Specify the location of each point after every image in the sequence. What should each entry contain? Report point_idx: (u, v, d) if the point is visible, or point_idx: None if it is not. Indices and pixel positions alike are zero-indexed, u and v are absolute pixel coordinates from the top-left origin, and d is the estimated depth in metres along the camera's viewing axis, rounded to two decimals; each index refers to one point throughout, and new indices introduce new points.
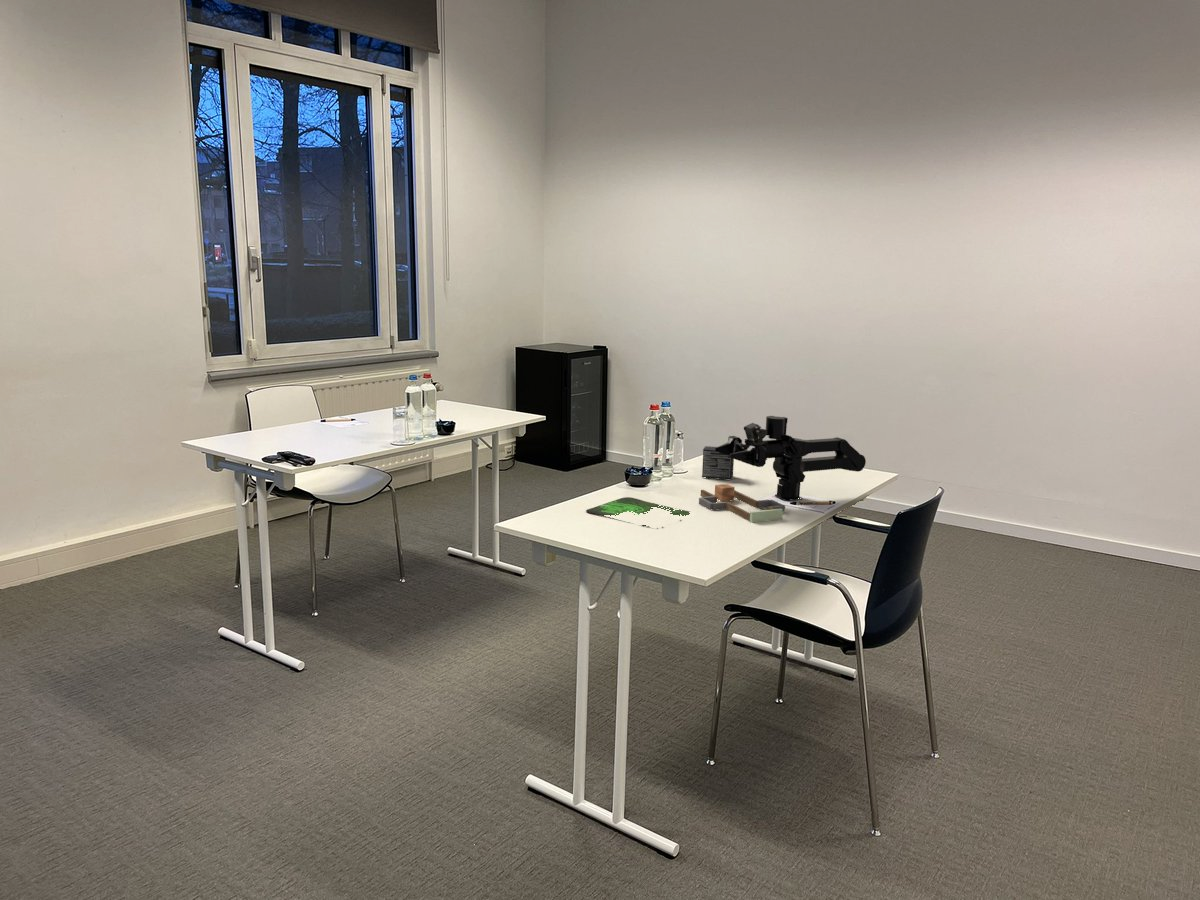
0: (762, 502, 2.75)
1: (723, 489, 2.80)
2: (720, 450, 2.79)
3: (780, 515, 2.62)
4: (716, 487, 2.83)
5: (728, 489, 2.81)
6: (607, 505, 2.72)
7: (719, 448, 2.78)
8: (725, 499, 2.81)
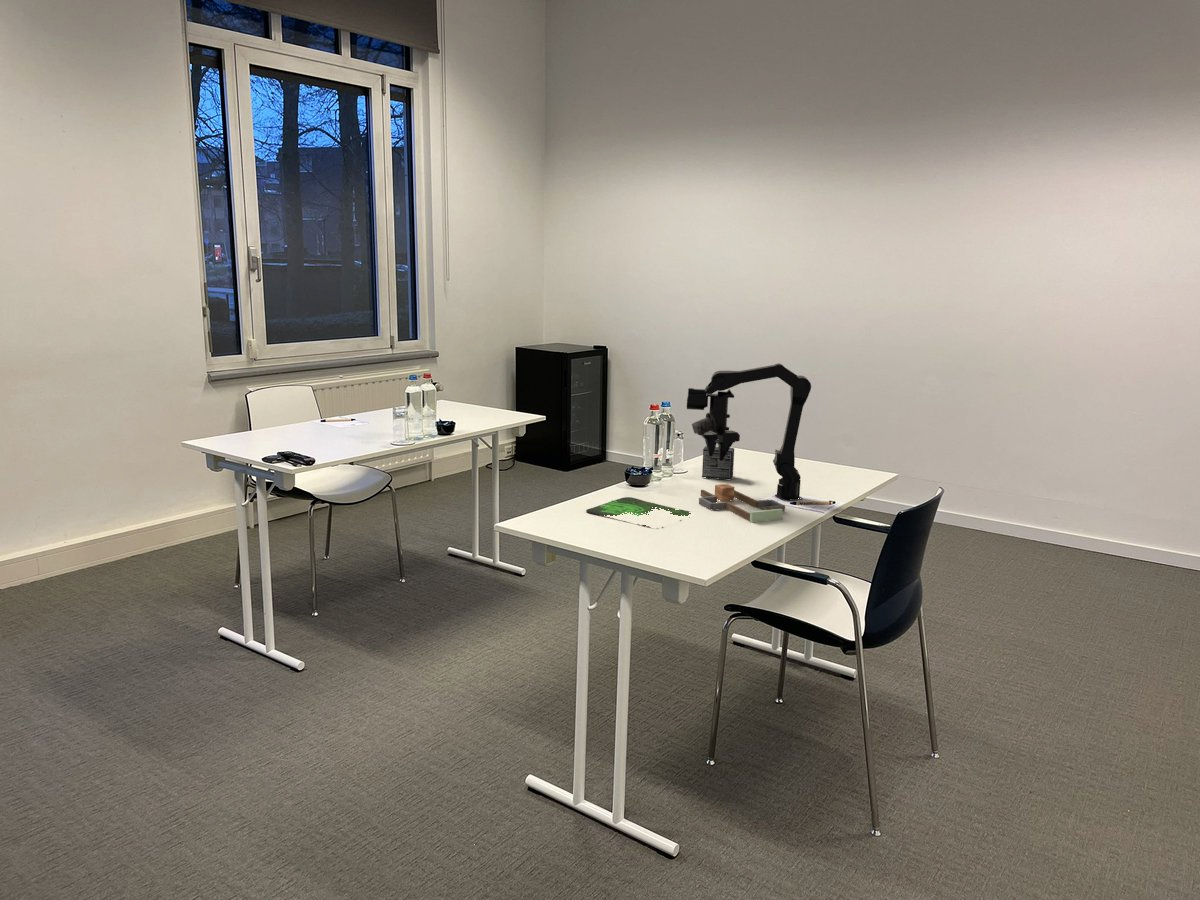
0: (762, 502, 2.75)
1: (723, 489, 2.80)
2: (712, 450, 2.89)
3: (780, 515, 2.62)
4: (716, 487, 2.83)
5: (728, 489, 2.81)
6: (607, 505, 2.72)
7: (710, 452, 2.89)
8: (725, 499, 2.81)
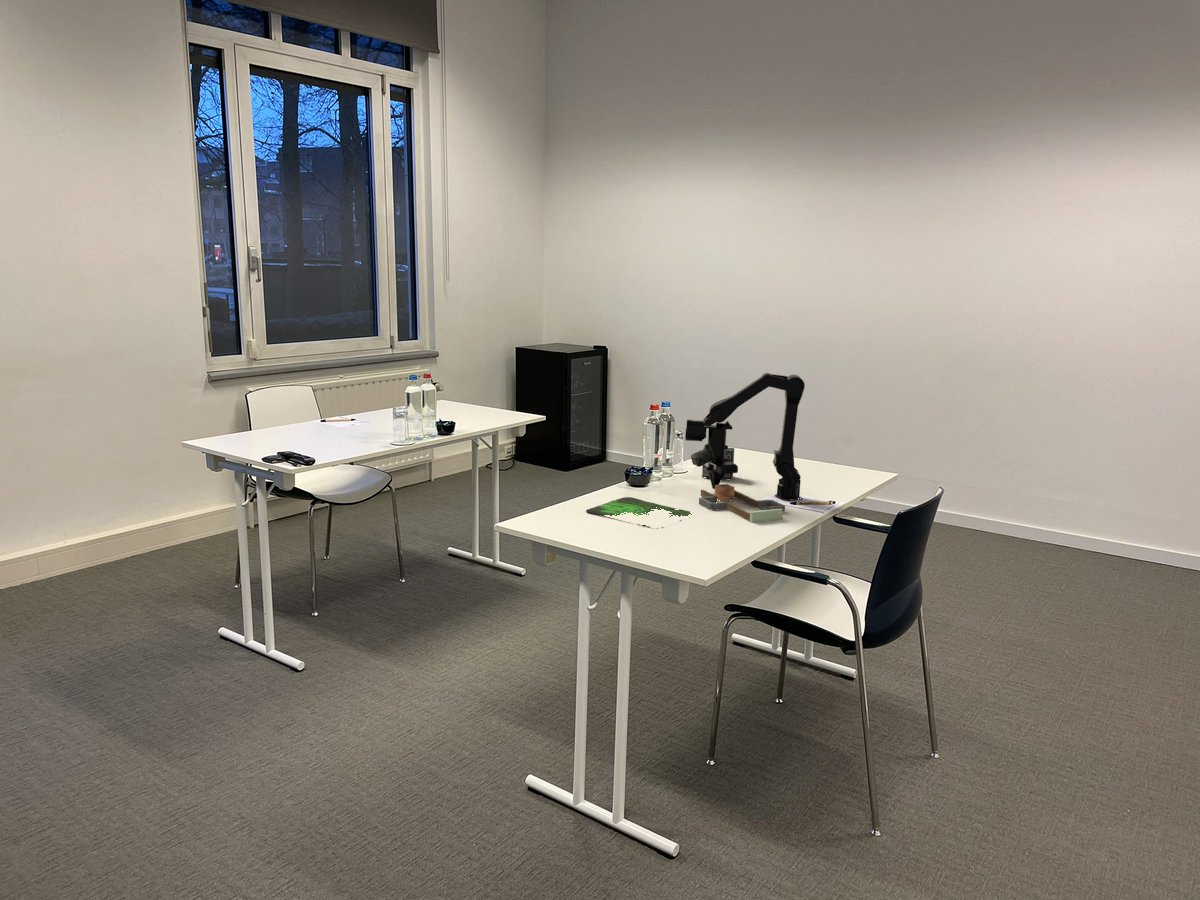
0: (762, 502, 2.75)
1: (723, 489, 2.80)
2: None
3: (780, 515, 2.62)
4: (716, 487, 2.83)
5: (728, 489, 2.81)
6: (607, 505, 2.72)
7: None
8: (725, 499, 2.81)
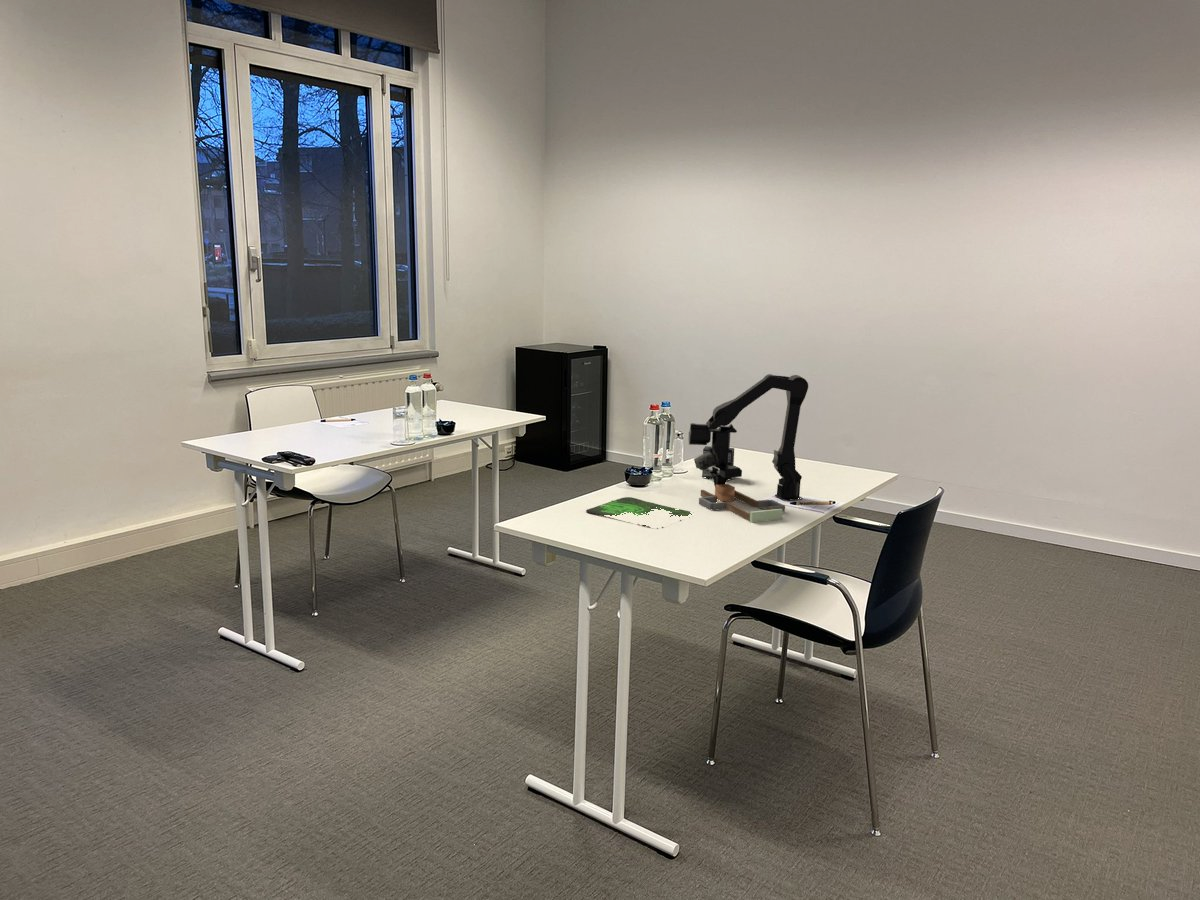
0: (762, 502, 2.75)
1: (723, 489, 2.80)
2: None
3: (780, 515, 2.62)
4: (716, 487, 2.83)
5: (728, 489, 2.80)
6: (607, 505, 2.72)
7: None
8: (725, 499, 2.81)
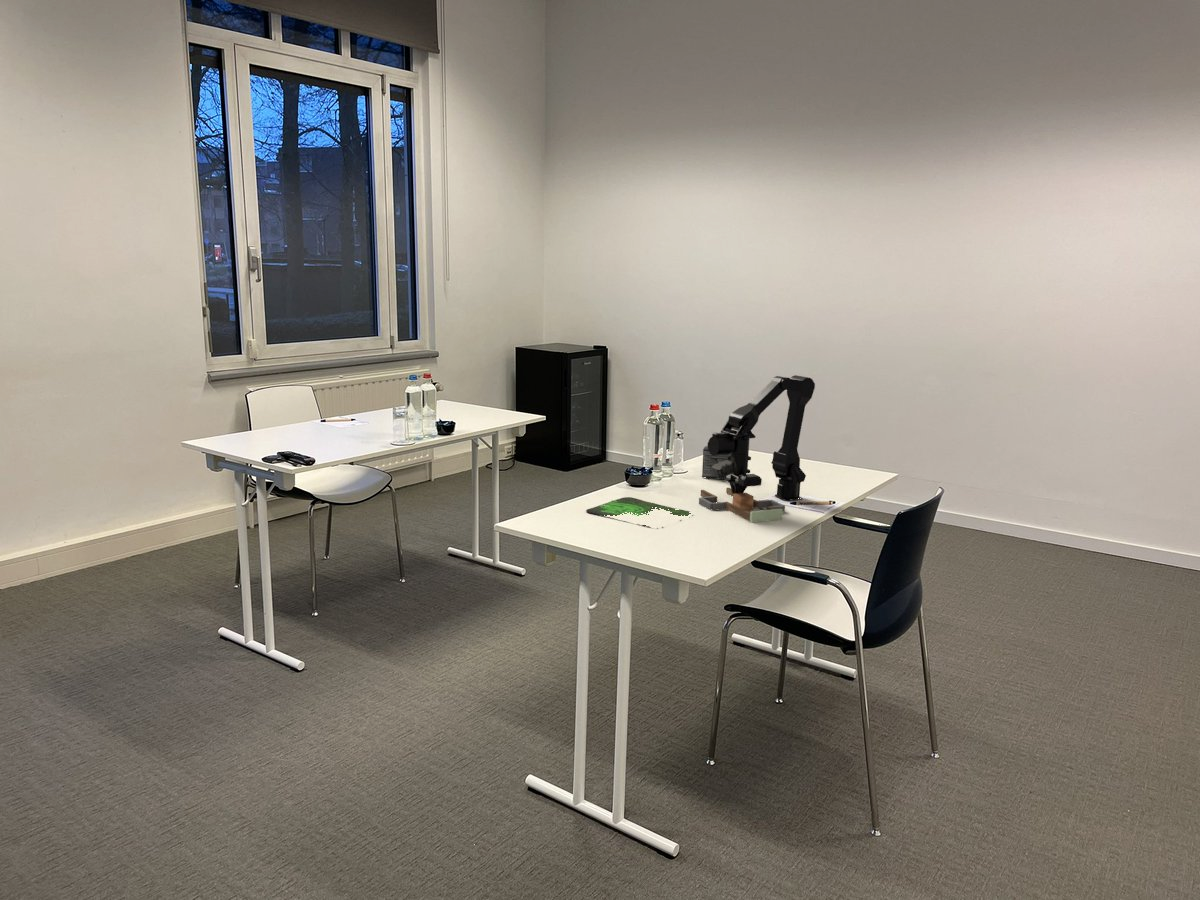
0: (762, 502, 2.75)
1: (742, 498, 2.69)
2: None
3: (780, 515, 2.62)
4: (734, 496, 2.72)
5: (747, 498, 2.70)
6: (607, 505, 2.72)
7: None
8: (744, 509, 2.70)
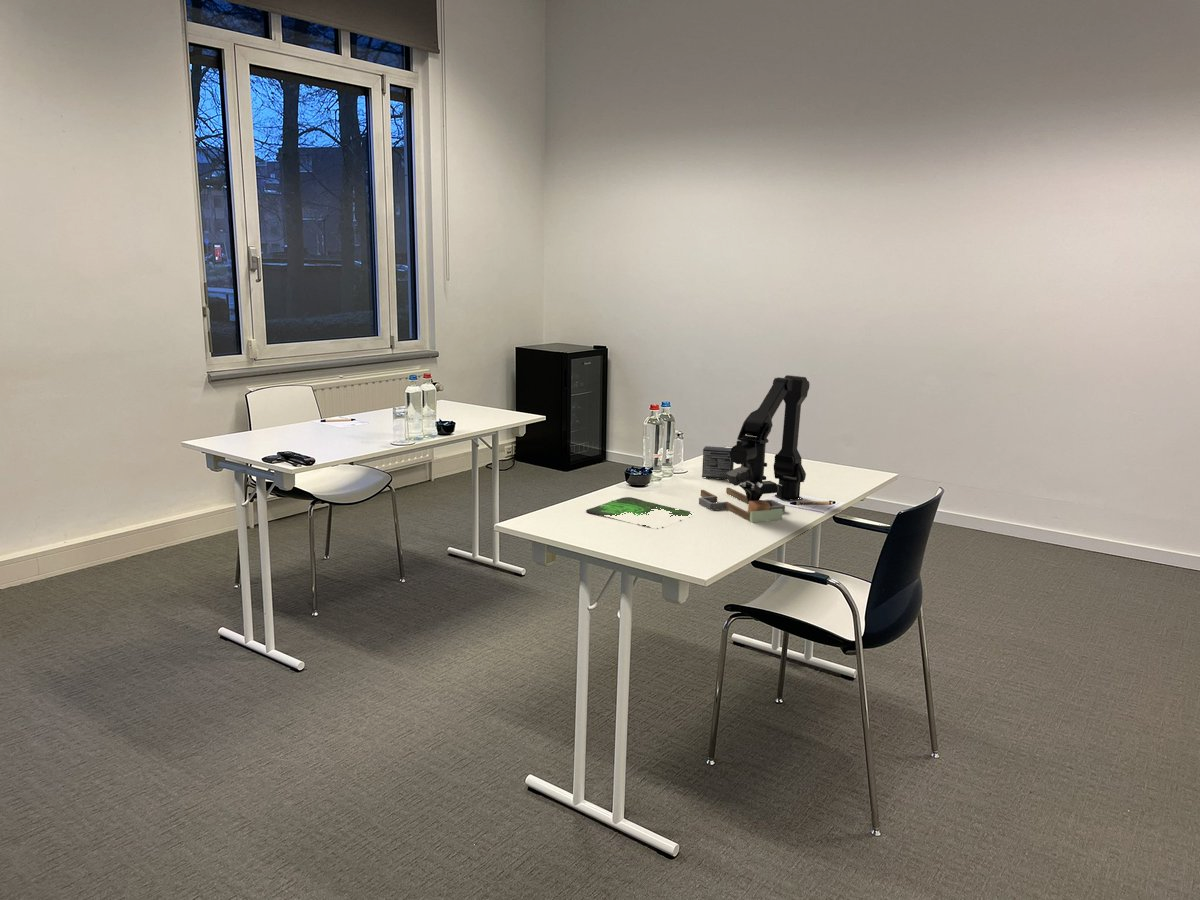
0: None
1: (758, 506, 2.61)
2: None
3: (780, 515, 2.62)
4: (750, 503, 2.64)
5: (763, 506, 2.62)
6: (607, 505, 2.72)
7: None
8: None
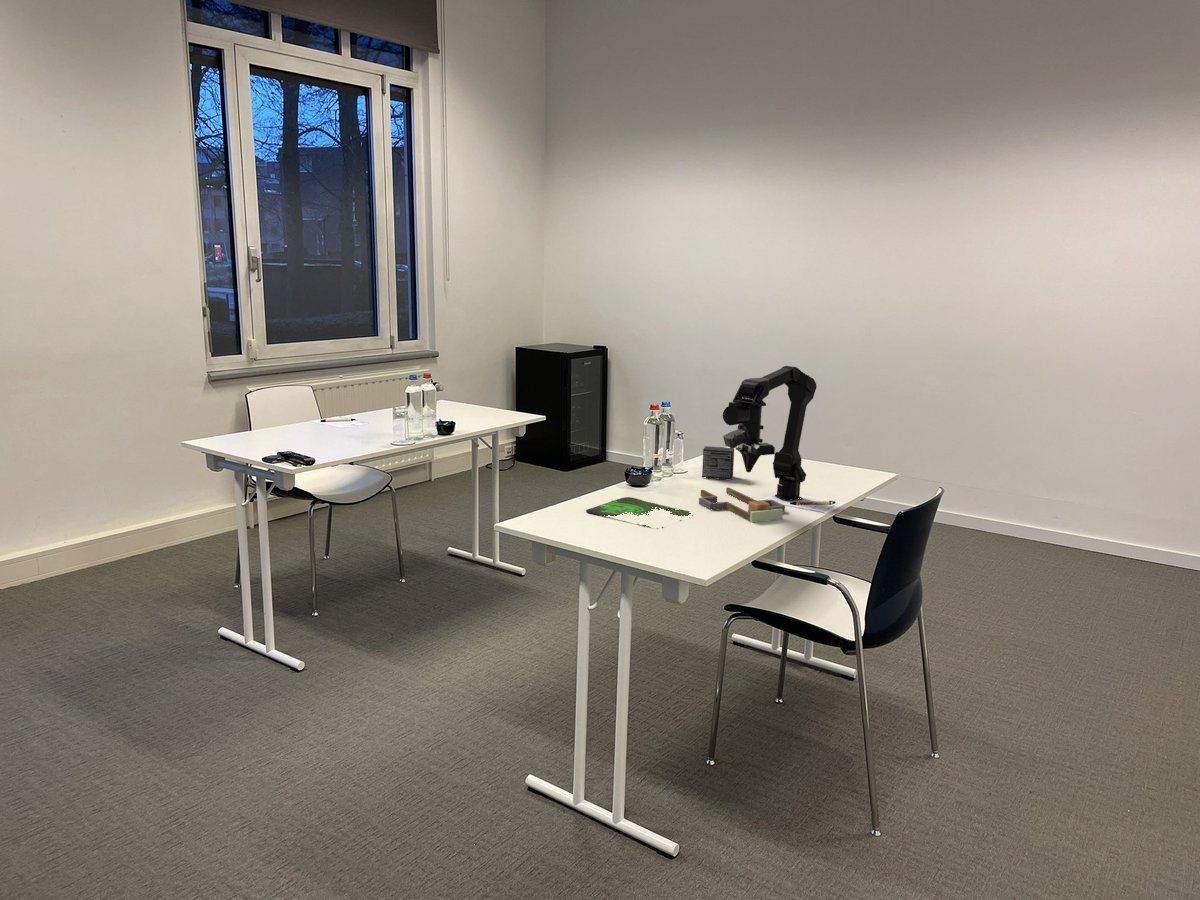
0: None
1: (758, 506, 2.61)
2: None
3: (780, 515, 2.62)
4: (750, 504, 2.64)
5: (763, 506, 2.62)
6: (607, 505, 2.72)
7: None
8: None
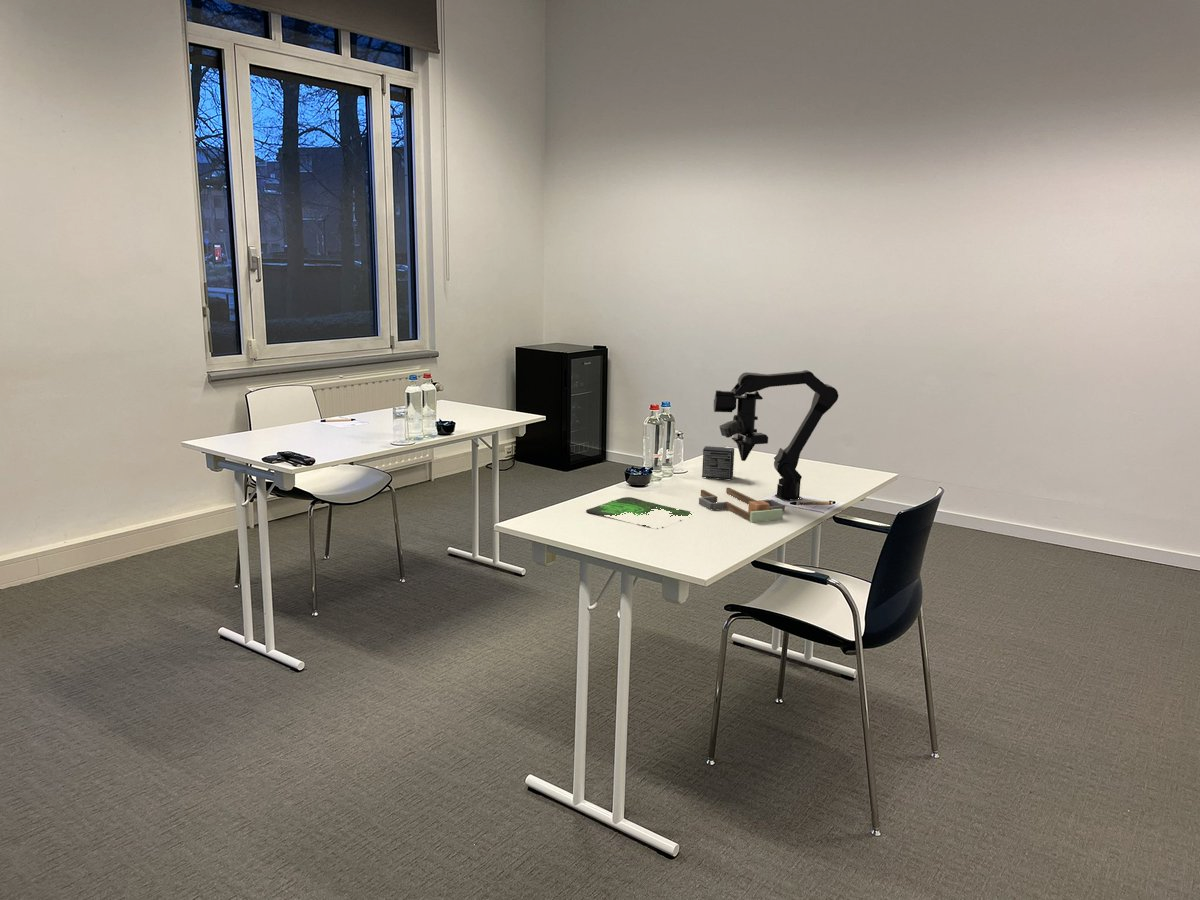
0: None
1: (758, 506, 2.61)
2: None
3: (780, 515, 2.62)
4: (750, 504, 2.64)
5: (763, 506, 2.62)
6: (607, 505, 2.72)
7: None
8: None
